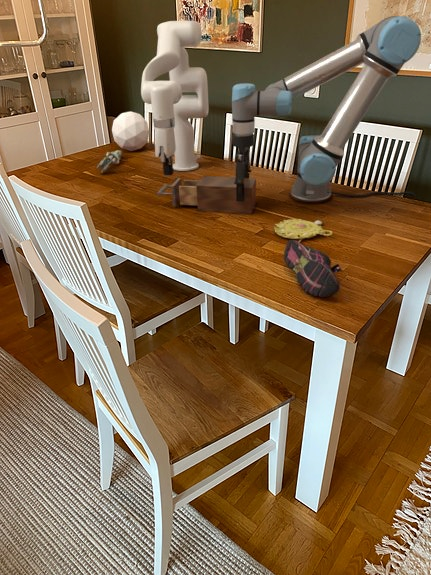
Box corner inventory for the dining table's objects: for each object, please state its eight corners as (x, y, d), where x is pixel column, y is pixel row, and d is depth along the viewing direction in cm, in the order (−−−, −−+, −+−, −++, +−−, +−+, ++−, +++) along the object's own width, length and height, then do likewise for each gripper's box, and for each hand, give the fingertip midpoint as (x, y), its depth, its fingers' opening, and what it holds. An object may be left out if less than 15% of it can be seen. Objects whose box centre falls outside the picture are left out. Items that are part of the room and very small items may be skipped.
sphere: (125, 161, 242) (105, 129, 240) (156, 144, 244) (137, 111, 242) (123, 152, 223) (102, 117, 221) (157, 133, 225) (136, 98, 223)
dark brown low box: (197, 210, 164) (196, 185, 159) (204, 200, 173) (203, 175, 168) (251, 214, 160) (251, 188, 155) (255, 203, 169) (256, 178, 164)
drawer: (157, 205, 167) (155, 185, 163) (165, 196, 175) (163, 177, 171) (221, 209, 162) (221, 188, 158) (226, 199, 170) (226, 180, 166)
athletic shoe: (326, 286, 106) (365, 278, 110) (286, 224, 118) (323, 219, 122) (310, 314, 115) (347, 305, 119) (274, 254, 127) (309, 248, 131)
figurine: (101, 154, 197) (119, 141, 223) (91, 167, 200) (110, 152, 227) (114, 165, 199) (130, 151, 225) (103, 178, 203) (121, 162, 229)
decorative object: (286, 211, 157) (342, 219, 147) (286, 217, 158) (341, 226, 148) (260, 233, 142) (319, 243, 133) (260, 240, 144) (319, 251, 134)
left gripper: (160, 118, 162) (165, 167, 172) (146, 127, 149) (152, 180, 159) (180, 118, 160) (183, 168, 170) (167, 128, 148) (172, 181, 158)
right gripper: (238, 125, 161) (238, 184, 173) (225, 142, 142) (226, 206, 154) (258, 126, 159) (257, 185, 171) (248, 142, 141) (247, 208, 153)
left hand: (168, 174), depth 165 cm, fingers closed
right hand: (242, 195), depth 163 cm, fingers closed on dark brown low box, 10 cm apart
